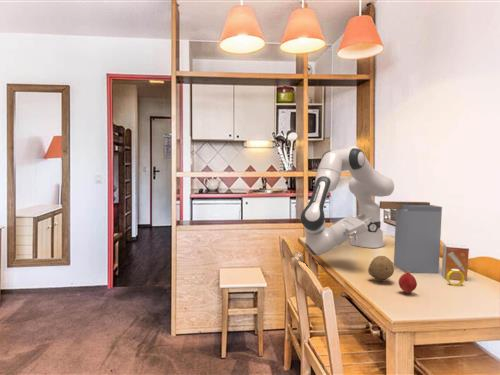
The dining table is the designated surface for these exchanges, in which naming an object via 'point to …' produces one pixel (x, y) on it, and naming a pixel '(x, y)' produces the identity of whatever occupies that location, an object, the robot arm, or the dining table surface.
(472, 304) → the dining table surface
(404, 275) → the red rounded lump
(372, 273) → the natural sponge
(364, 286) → the dining table surface
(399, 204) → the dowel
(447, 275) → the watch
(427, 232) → the stand
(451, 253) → the small box
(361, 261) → the dining table surface
